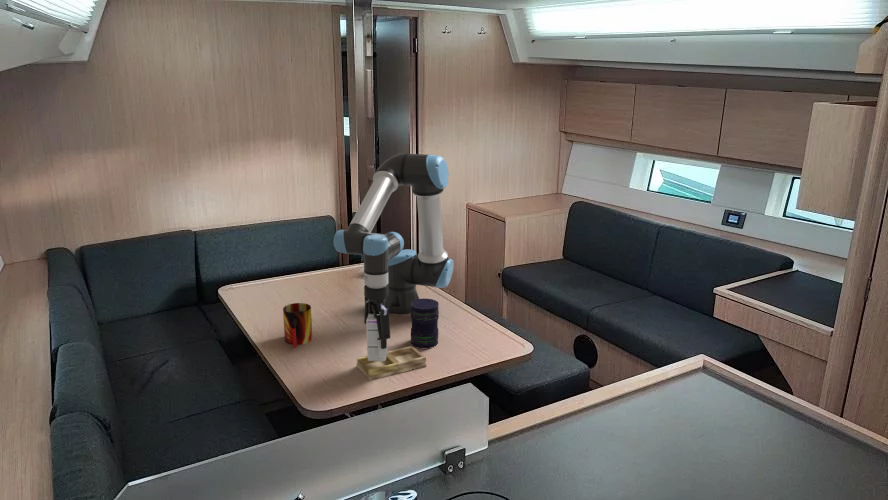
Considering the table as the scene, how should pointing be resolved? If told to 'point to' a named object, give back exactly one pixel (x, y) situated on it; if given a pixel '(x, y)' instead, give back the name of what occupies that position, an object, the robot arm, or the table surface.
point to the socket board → (392, 363)
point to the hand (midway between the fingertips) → (377, 351)
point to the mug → (297, 324)
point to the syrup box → (372, 339)
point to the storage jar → (424, 323)
